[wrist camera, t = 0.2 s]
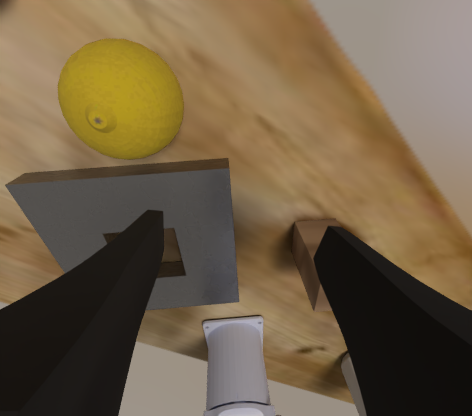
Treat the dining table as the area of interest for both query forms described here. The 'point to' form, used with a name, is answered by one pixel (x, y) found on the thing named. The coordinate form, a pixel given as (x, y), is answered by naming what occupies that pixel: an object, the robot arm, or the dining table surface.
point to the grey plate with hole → (132, 207)
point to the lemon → (120, 98)
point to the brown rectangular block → (311, 258)
